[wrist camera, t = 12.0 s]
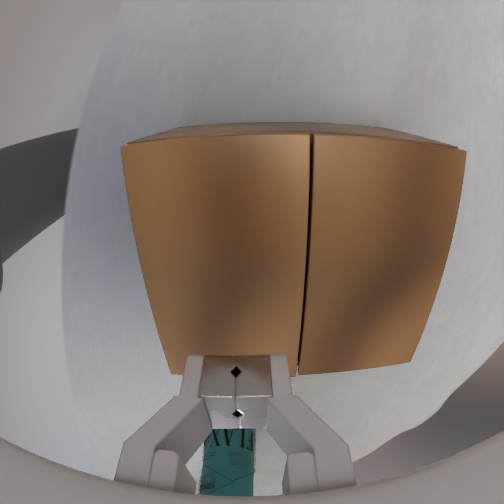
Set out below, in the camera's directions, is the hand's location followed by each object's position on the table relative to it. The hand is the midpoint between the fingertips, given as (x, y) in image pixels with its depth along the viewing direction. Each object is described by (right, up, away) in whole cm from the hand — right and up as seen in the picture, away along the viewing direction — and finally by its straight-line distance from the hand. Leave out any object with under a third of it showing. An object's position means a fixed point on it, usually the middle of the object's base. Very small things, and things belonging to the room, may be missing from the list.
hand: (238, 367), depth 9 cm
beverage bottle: (-2, -18, +27) cm, 33 cm away
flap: (-1, +2, +5) cm, 5 cm away
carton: (+3, +7, +14) cm, 15 cm away
